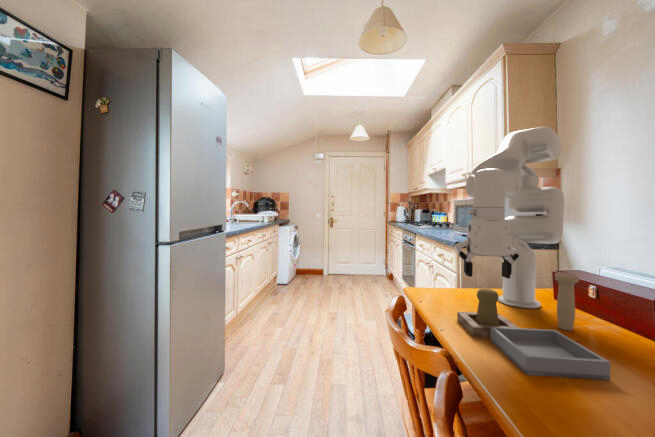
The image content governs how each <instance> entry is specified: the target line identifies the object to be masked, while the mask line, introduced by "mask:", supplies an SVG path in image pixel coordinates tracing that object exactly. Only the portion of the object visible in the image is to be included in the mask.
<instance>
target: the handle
mask: <svg viewBox="0 0 655 437" xmlns="http://www.w3.org/2000/svg"><path fill="white" fill-rule="evenodd" d="M554 279H555V281H556V282H558V289H557V290H558V291H557V299H556V300H557V301H556V302H557V303H556V318H557V326H558V329H560V330H561V329H562V330H563V331H569V332H571V331H573V330H574V325H575V320H576V319H575V317H576V301H575V300H576V299H575V284H577V283H579V281H580V278H579V276H578V275H575V274H572V273H563V272H555V273H554Z"/></svg>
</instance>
